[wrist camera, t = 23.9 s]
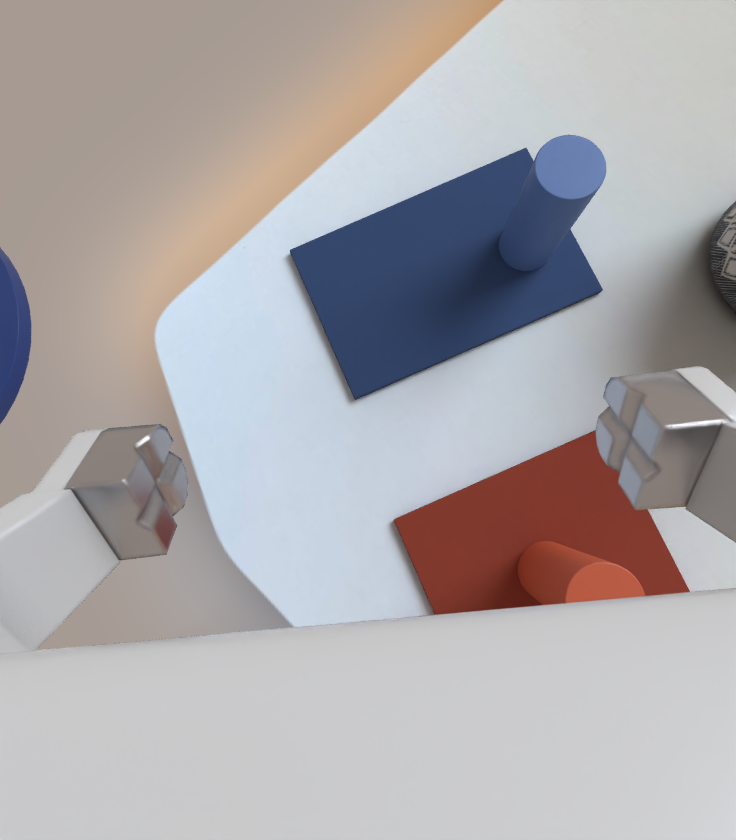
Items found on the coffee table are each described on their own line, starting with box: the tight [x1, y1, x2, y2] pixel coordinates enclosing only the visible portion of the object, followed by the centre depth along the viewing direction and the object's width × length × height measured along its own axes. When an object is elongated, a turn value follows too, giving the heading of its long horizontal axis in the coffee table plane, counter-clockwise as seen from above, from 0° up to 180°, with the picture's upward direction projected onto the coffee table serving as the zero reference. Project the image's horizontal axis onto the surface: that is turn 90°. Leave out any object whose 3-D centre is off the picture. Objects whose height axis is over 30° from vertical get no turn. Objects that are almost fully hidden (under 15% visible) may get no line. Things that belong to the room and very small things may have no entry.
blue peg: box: [499, 135, 606, 271], centre depth 35 cm, size 4×4×10 cm
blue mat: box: [290, 148, 603, 399], centre depth 40 cm, size 22×14×1 cm, turn 114°
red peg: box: [518, 541, 645, 605], centre depth 31 cm, size 4×4×10 cm
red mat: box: [394, 430, 690, 615], centre depth 36 cm, size 18×16×1 cm
